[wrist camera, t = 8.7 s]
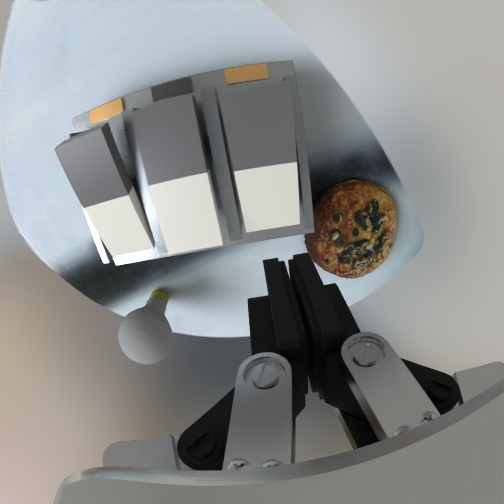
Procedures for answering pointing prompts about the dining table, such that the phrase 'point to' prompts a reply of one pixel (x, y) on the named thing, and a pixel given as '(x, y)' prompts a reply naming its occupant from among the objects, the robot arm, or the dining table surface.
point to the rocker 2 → (178, 174)
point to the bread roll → (352, 229)
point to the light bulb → (147, 331)
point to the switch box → (215, 147)
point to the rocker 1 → (106, 190)
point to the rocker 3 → (263, 152)
